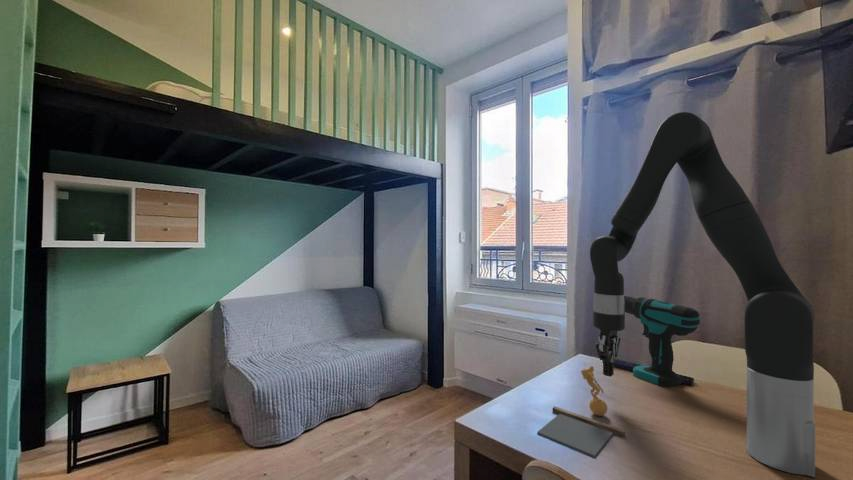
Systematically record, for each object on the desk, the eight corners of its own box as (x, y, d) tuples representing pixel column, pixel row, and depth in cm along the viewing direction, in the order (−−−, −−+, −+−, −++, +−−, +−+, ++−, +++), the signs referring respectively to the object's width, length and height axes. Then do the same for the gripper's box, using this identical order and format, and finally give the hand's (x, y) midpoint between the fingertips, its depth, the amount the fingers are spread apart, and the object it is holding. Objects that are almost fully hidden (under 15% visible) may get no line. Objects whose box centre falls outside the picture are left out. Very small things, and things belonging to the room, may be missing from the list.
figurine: (616, 423, 81) (616, 372, 82) (591, 424, 81) (592, 372, 81) (596, 406, 90) (596, 360, 90) (574, 407, 89) (574, 360, 89)
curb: (625, 435, 76) (625, 430, 76) (623, 437, 76) (623, 432, 76) (554, 410, 88) (554, 406, 88) (552, 411, 87) (552, 407, 87)
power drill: (604, 365, 121) (604, 293, 121) (621, 362, 124) (621, 292, 125) (686, 396, 97) (687, 306, 97) (705, 390, 101) (705, 304, 101)
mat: (613, 434, 77) (613, 432, 77) (594, 457, 68) (594, 455, 68) (559, 415, 85) (559, 413, 85) (537, 433, 77) (537, 431, 77)
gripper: (616, 316, 86) (616, 386, 86) (631, 309, 95) (630, 372, 95) (585, 311, 91) (584, 377, 91) (602, 305, 101) (601, 365, 100)
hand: (608, 375), depth 93 cm, fingers closed
